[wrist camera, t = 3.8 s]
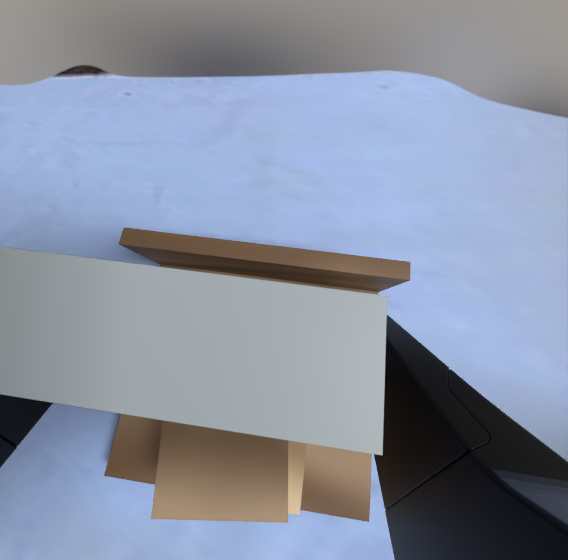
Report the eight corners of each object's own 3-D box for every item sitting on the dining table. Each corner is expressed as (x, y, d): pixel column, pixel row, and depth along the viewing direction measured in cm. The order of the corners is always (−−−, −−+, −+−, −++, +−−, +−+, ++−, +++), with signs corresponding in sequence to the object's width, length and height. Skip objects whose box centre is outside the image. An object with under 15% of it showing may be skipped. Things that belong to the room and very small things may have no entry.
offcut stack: (298, 494, 12) (301, 546, 10) (172, 473, 13) (138, 516, 10) (309, 384, 14) (315, 400, 11) (194, 367, 14) (170, 378, 11)
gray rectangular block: (301, 344, 14) (382, 455, 2) (214, 332, 15) (-164, 368, 2) (303, 321, 15) (387, 296, 2) (219, 309, 15) (-91, 235, 3)
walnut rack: (362, 507, 13) (407, 614, 8) (117, 465, 14) (24, 541, 9) (373, 281, 16) (410, 262, 11) (171, 256, 17) (123, 227, 12)
